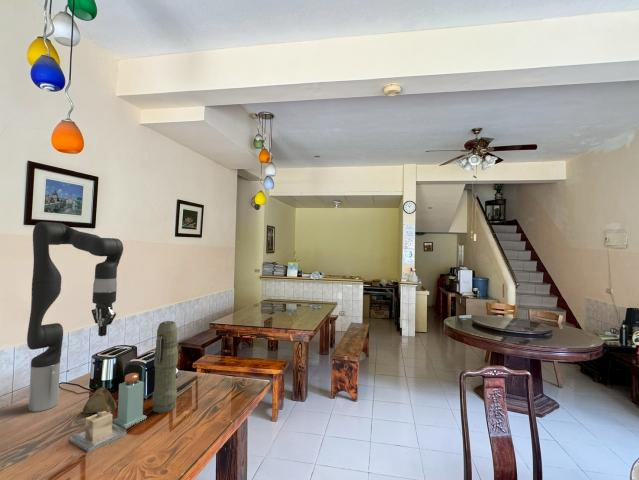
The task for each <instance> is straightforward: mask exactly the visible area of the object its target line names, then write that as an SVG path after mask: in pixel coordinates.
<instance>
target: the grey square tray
mask: <svg viewBox="0 0 639 480" xmlns="http://www.w3.org/2000/svg"><path fill="white" fill-rule="evenodd" d="M126 435H127V430H126V428H124V427H122V426H120V425H118V424H116V423H114V422H112V432H111V433H108V434H106V435H104V436H102V437H100V438H97V439H95V440H91V439H89V438H87V437H86V436H85V431H81V432H80V433H76V432H74V433H72V434H71V436H70V437H69V441H70V442H71V443H73V444H74V445H75V446H77V447H79V448H80V449H82V450H83V451H85V452H87V453H90V452H92V451H94V450H97V449H99V448H100V447H103V446H105V445H108V444H109V443H112V442H114V441H116V440H118V439H119V438H122V437H124V436H126Z"/></svg>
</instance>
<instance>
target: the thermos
mask: <svg viewBox="0 0 639 480" xmlns="http://www.w3.org/2000/svg"><path fill="white" fill-rule="evenodd" d="M153 357H154V363H153V367H154V390H153V392H152V399H151V400H152V402H151V403H152V412H153V411H154V413H155V412H157V413H156V414H163V413H169V412H172V411H174V409H176V407H177V402H176V401H177V397H178V396H177V395H178V393H177V392H178V391H177V387H176V386H177V384H176V382H177V381H176V379H177V365H178V361H179V349H178V326H177V323H176V321H172V320H169V321H168V320H167V321H162V322H159V324H158V327H157V330H156V341H155V352H154V356H153Z"/></svg>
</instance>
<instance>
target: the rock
mask: <svg viewBox="0 0 639 480" xmlns="http://www.w3.org/2000/svg"><path fill="white" fill-rule="evenodd" d="M116 407H117V408H118V405H117V403H116V400H115V399H114V398H113V396H112V394H111V392H110V391H109V390H108V389H107V388H106V387H99V388H98V389H96V390H95V391H94V393H93V394H92V395H91V396H90V398H88V400H87V401H86V403H85V405H84V406H83V408H82V413H83V414H87V413H89V414H91V413H93V414H94V413H96V414H97V413H98V412H103V411H106V412H108V413H110V412H111V411H113V410H115V409H116Z"/></svg>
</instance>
